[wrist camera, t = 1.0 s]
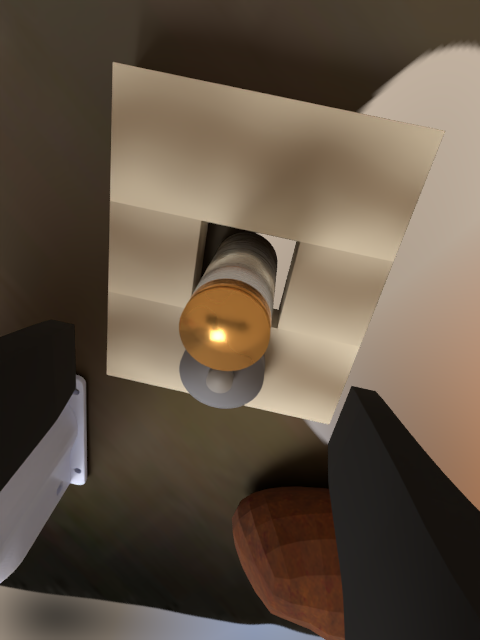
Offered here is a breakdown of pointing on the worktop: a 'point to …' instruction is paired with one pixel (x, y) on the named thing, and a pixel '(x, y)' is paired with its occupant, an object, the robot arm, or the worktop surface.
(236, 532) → the potato
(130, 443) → the worktop surface
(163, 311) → the plate
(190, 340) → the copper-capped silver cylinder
